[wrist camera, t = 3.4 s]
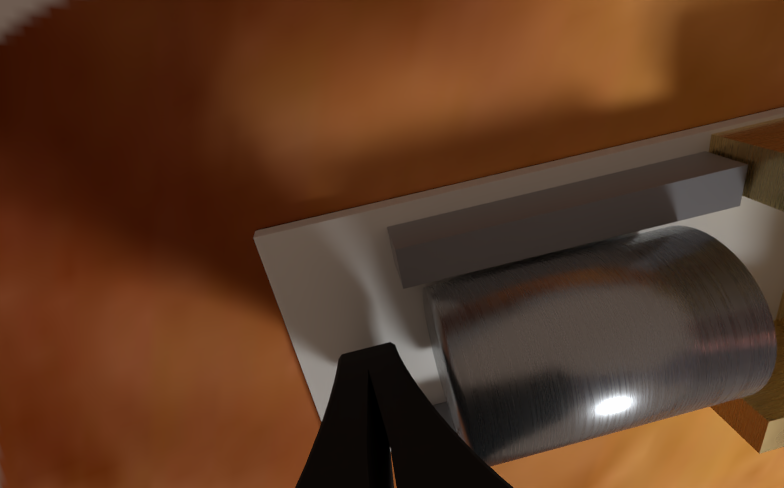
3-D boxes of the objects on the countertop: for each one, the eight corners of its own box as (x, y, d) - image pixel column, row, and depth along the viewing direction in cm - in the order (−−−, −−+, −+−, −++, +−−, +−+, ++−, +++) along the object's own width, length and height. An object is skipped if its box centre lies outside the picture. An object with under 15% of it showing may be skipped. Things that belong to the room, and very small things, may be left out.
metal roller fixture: (883, 309, 15) (943, 338, 14) (337, 455, 14) (340, 503, 12) (985, 59, 11) (1081, 64, 10) (255, 230, 10) (246, 262, 9)
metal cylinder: (646, 351, 13) (781, 435, 9) (444, 404, 12) (489, 517, 8) (630, 216, 12) (771, 241, 8) (414, 268, 11) (449, 323, 8)
